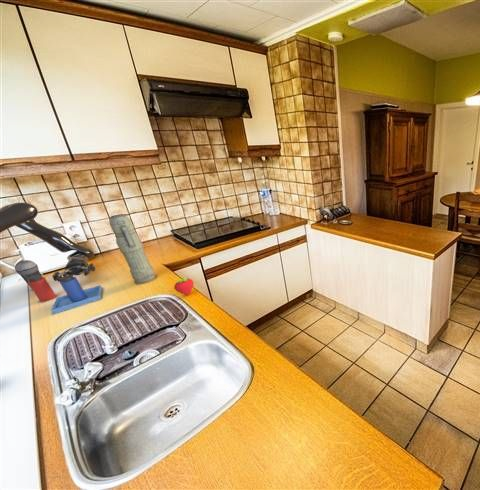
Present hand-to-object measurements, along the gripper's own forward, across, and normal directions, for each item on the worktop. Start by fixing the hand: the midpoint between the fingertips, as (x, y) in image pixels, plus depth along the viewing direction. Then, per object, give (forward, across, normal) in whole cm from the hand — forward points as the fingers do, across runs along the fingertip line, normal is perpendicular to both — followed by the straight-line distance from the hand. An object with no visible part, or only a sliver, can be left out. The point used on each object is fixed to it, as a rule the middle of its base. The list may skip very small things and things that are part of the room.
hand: (72, 276), depth 127 cm
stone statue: (+8, +25, +9) cm, 28 cm away
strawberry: (+42, +39, +9) cm, 58 cm away
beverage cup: (-25, -18, +9) cm, 32 cm away
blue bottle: (+9, 0, +8) cm, 12 cm away
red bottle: (-5, -12, +9) cm, 16 cm away
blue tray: (+9, 0, +9) cm, 13 cm away
